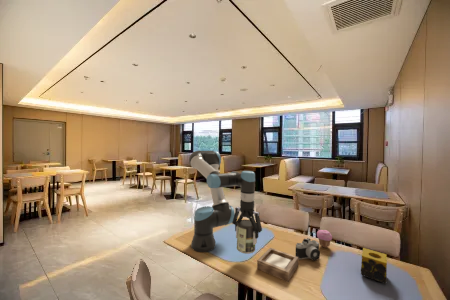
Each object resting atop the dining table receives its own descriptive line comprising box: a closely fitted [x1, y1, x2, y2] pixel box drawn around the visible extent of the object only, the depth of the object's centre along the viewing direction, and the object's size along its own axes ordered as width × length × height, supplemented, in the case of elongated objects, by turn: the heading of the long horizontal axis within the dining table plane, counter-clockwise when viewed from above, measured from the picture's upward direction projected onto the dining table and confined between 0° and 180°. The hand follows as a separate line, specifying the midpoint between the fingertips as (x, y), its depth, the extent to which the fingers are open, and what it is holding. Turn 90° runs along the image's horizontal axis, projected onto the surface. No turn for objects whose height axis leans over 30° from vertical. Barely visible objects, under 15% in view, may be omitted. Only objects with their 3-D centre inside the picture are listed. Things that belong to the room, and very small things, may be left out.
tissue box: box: [360, 247, 388, 284], centre depth 97 cm, size 10×10×10 cm
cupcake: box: [316, 229, 333, 248], centre depth 125 cm, size 9×9×10 cm
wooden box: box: [256, 247, 299, 283], centre depth 102 cm, size 16×16×4 cm
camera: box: [295, 237, 321, 261], centre depth 111 cm, size 16×9×10 cm, turn 105°
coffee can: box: [236, 219, 256, 255], centre depth 106 cm, size 10×10×14 cm
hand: (246, 240), depth 106 cm, fingers closed on coffee can, 10 cm apart
